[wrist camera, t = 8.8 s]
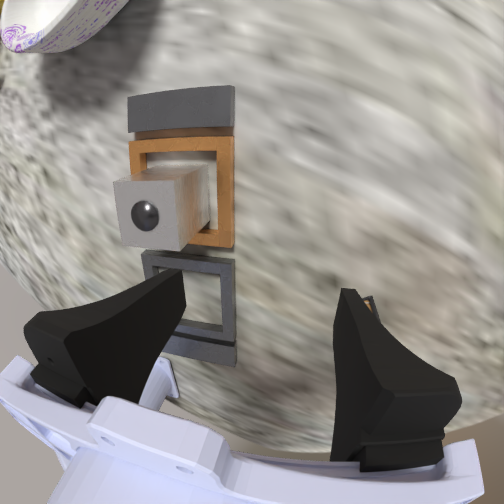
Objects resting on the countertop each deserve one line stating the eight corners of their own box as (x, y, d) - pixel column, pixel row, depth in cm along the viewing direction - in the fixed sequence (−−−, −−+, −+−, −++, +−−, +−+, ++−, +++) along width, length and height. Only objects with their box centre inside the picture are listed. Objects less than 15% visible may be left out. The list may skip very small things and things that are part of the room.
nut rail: (165, 345, 31) (161, 351, 30) (134, 97, 19) (127, 97, 19) (236, 360, 29) (234, 366, 29) (234, 86, 18) (230, 85, 17)
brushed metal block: (161, 217, 24) (121, 246, 18) (156, 165, 22) (111, 182, 16) (210, 219, 23) (179, 252, 18) (208, 164, 21) (172, 180, 16)
